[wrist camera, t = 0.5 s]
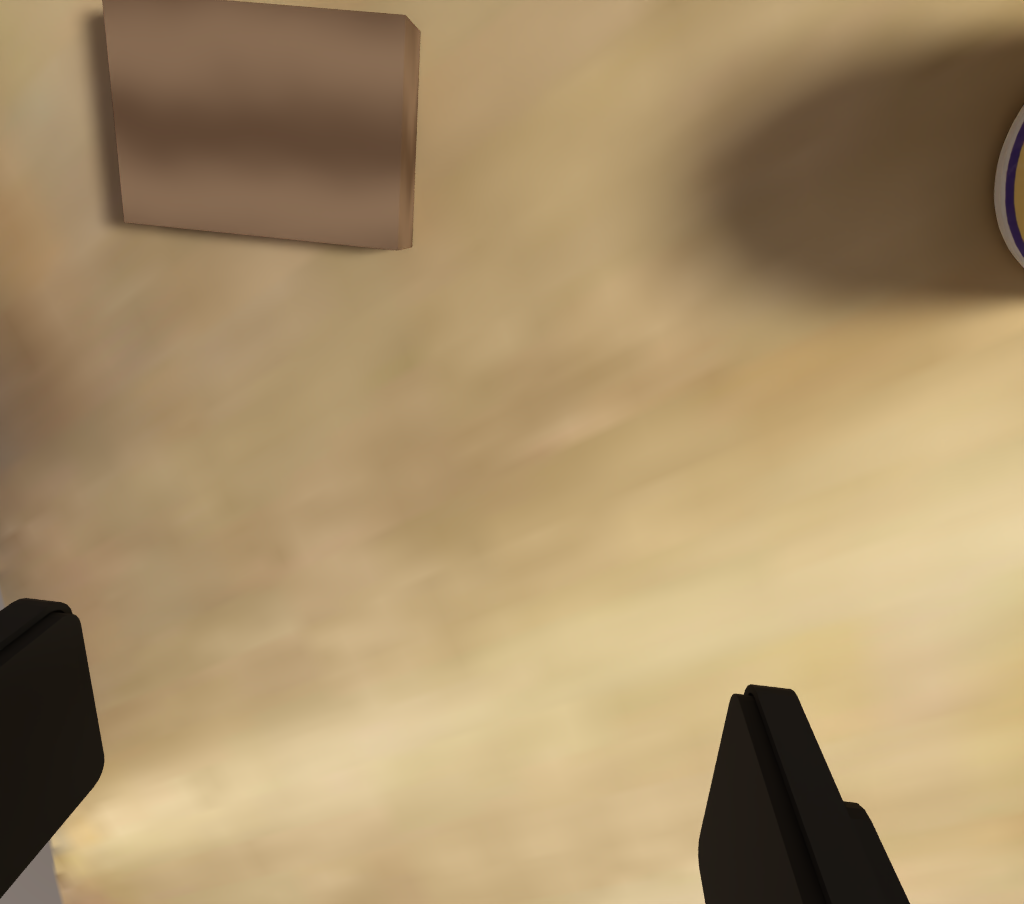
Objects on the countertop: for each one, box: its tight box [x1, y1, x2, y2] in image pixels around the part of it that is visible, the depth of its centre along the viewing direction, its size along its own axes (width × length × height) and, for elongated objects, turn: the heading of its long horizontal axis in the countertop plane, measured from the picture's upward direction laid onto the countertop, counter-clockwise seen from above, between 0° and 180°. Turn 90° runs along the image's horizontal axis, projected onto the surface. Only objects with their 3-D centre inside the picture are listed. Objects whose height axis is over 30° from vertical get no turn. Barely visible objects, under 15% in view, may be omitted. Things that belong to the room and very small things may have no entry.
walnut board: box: [102, 0, 421, 250], centre depth 34 cm, size 10×14×3 cm
